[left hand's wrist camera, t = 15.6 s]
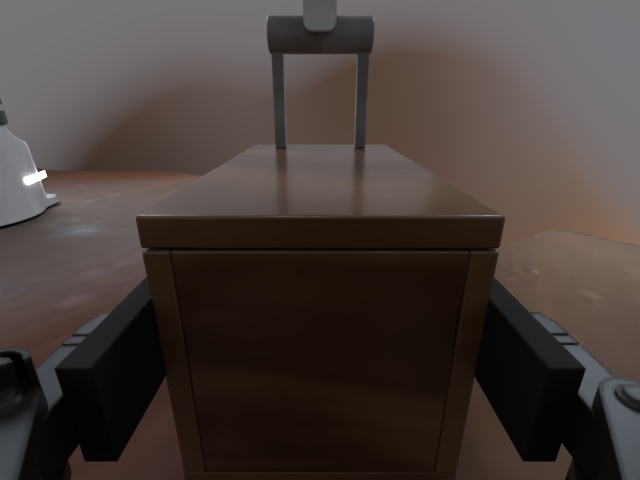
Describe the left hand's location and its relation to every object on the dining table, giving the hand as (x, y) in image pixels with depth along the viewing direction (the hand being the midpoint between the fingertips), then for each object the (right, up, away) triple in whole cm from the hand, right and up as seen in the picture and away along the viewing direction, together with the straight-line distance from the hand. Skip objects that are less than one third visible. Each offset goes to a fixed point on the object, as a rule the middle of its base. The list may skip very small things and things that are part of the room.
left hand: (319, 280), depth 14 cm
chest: (0, -4, +7) cm, 8 cm away
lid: (0, +5, +4) cm, 6 cm away
